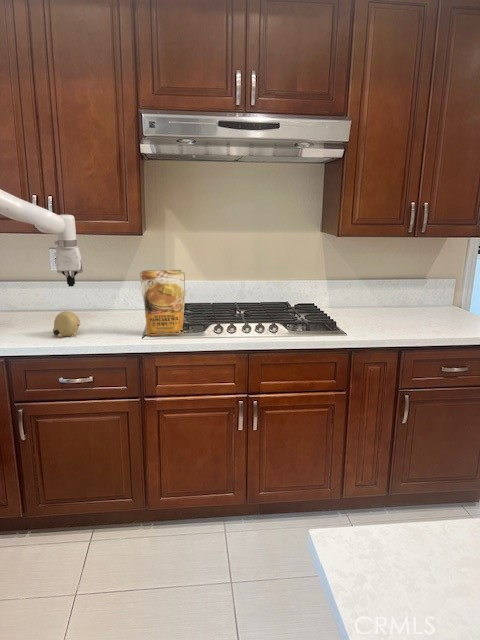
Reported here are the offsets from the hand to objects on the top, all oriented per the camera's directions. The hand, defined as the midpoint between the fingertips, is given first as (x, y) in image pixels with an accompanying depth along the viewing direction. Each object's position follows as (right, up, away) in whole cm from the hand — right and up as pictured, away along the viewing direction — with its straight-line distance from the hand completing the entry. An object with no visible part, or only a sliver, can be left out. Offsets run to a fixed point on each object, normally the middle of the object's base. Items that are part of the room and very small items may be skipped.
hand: (71, 285), depth 205 cm
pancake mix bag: (+41, -21, -1) cm, 46 cm away
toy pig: (0, -22, -6) cm, 23 cm away
